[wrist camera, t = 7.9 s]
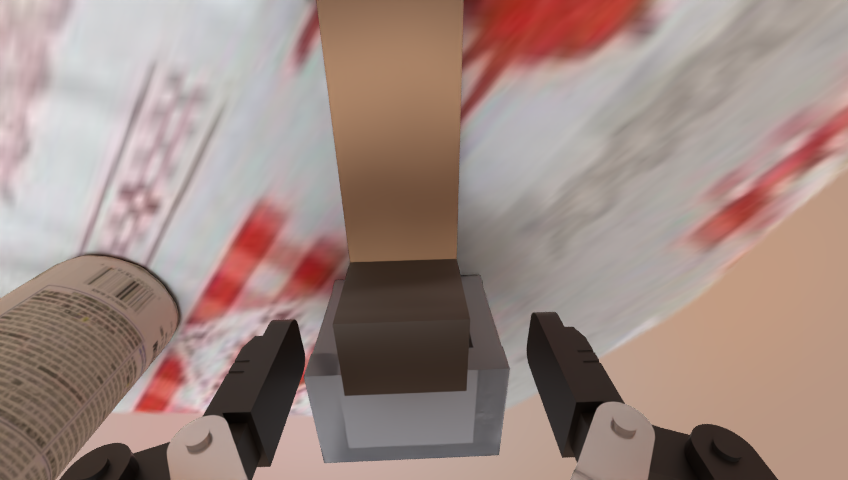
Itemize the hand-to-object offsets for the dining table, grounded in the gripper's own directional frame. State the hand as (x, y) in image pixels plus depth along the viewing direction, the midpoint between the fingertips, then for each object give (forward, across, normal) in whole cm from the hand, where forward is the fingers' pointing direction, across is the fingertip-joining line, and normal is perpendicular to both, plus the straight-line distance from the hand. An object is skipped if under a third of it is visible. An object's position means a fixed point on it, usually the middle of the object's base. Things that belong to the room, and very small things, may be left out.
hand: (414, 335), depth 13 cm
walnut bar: (+6, 0, -4) cm, 7 cm away
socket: (+7, 0, +5) cm, 9 cm away
